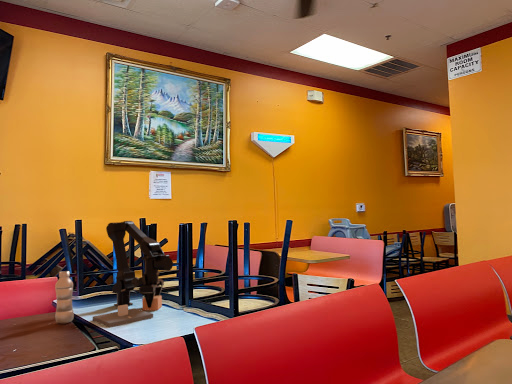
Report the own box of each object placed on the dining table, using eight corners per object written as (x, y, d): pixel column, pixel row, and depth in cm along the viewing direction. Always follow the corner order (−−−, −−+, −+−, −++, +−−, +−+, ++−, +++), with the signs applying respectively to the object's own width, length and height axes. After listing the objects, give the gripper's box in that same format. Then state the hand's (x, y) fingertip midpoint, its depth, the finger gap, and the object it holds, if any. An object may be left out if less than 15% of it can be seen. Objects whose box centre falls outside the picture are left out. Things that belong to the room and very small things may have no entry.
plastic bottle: (68, 324, 149) (68, 272, 150) (51, 325, 149) (51, 273, 151) (76, 320, 156) (76, 270, 157) (60, 321, 156) (60, 270, 157)
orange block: (146, 307, 176) (146, 295, 176) (161, 306, 176) (161, 295, 176) (142, 310, 169) (142, 298, 170) (158, 310, 169) (157, 298, 170)
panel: (92, 320, 155) (92, 306, 155) (134, 311, 168) (134, 299, 168) (109, 327, 144) (109, 312, 144) (153, 317, 156) (152, 304, 157)
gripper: (140, 268, 183) (140, 301, 182) (126, 273, 164) (127, 310, 163) (163, 267, 183) (164, 300, 182) (152, 272, 164) (153, 310, 163)
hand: (152, 305), depth 173 cm, fingers open, 9 cm apart
